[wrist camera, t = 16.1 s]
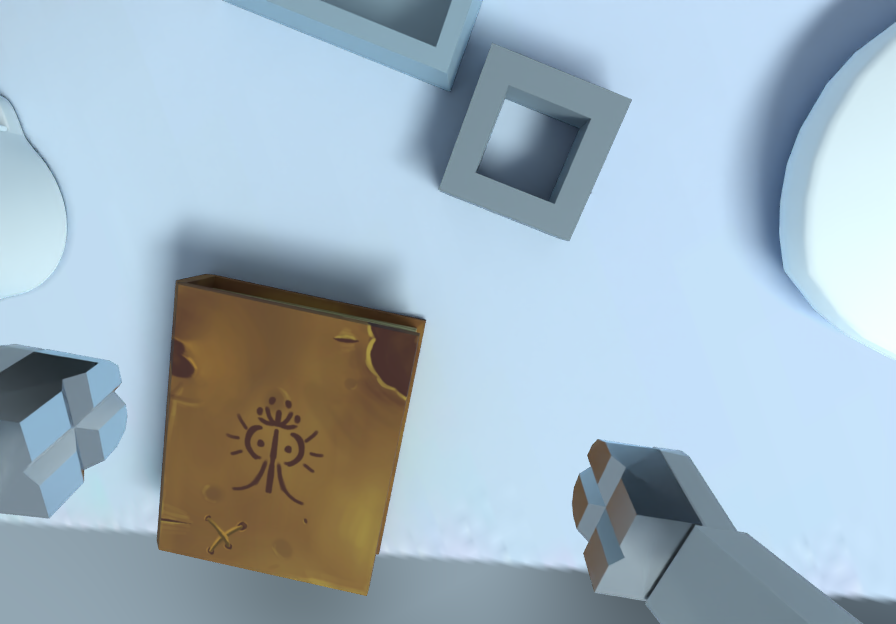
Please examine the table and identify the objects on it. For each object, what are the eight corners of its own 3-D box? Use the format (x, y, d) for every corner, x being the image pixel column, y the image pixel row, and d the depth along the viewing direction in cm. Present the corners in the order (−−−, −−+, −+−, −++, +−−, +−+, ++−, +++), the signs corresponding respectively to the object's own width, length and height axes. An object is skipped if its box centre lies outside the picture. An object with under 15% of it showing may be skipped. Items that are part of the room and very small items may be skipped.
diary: (213, 272, 38) (167, 281, 33) (426, 318, 38) (418, 335, 32) (190, 506, 43) (147, 549, 37) (380, 548, 43) (366, 598, 37)
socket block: (441, 192, 35) (438, 189, 32) (490, 60, 33) (492, 42, 29) (559, 238, 35) (569, 241, 32) (615, 111, 33) (632, 99, 30)
